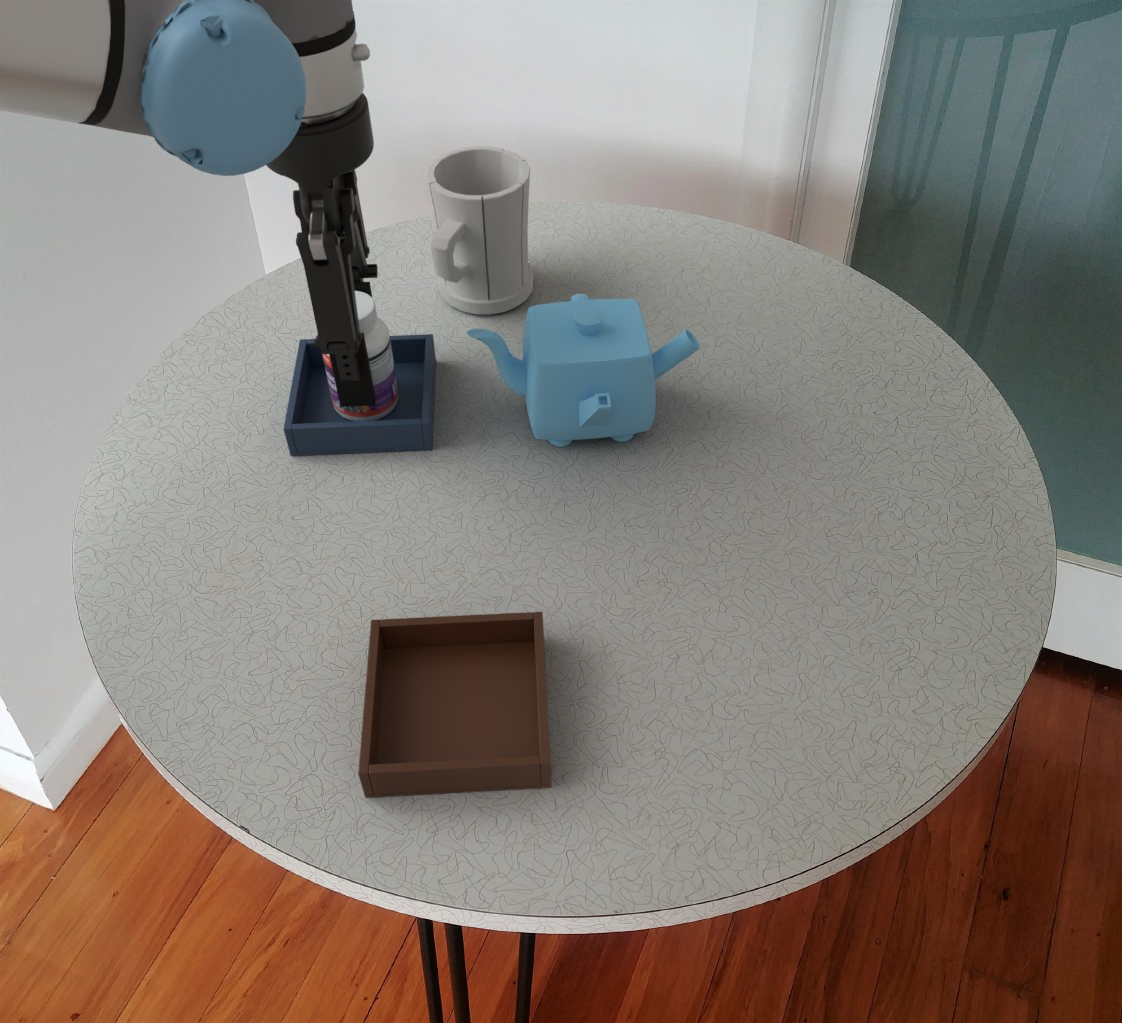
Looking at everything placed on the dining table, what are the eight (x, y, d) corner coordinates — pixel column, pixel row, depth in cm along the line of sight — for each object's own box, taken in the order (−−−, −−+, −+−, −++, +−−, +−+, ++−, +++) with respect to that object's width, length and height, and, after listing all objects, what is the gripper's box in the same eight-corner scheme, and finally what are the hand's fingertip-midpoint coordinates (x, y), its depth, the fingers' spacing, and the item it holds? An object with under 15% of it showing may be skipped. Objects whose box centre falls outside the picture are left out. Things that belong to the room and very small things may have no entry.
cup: (541, 324, 95) (538, 205, 86) (440, 333, 94) (426, 213, 86) (528, 258, 102) (524, 142, 93) (434, 266, 101) (421, 149, 93)
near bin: (365, 797, 64) (357, 773, 61) (376, 645, 71) (370, 619, 69) (551, 787, 64) (550, 763, 62) (543, 637, 72) (542, 611, 69)
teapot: (679, 359, 92) (688, 259, 84) (712, 472, 82) (726, 371, 75) (471, 374, 90) (462, 274, 83) (480, 491, 81) (470, 390, 74)
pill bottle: (319, 408, 87) (297, 311, 80) (363, 373, 90) (345, 276, 83) (369, 433, 85) (351, 335, 78) (412, 396, 88) (398, 299, 81)
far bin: (290, 456, 84) (283, 429, 82) (306, 366, 91) (299, 339, 89) (432, 450, 84) (428, 423, 82) (436, 360, 92) (432, 333, 90)
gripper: (355, 171, 62) (402, 455, 79) (375, 35, 75) (412, 304, 92) (226, 176, 62) (301, 459, 79) (269, 38, 75) (325, 308, 92)
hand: (361, 375), depth 85 cm, fingers open, 6 cm apart
